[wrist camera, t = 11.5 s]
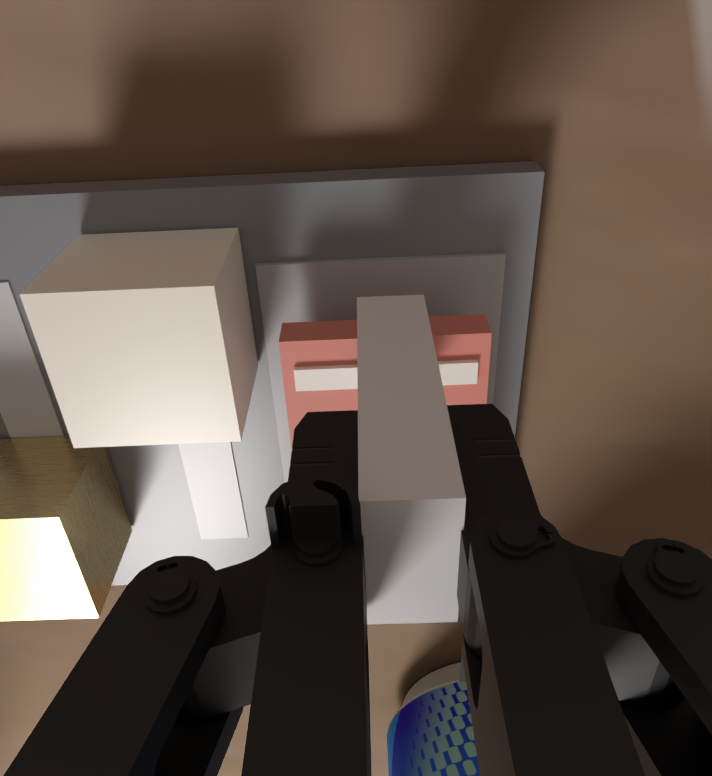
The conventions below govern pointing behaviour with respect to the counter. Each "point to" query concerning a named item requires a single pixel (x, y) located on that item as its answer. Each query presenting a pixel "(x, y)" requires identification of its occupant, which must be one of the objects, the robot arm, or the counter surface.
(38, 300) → the ivory slider
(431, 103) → the counter surface
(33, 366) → the panel
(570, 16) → the counter surface
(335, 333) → the block
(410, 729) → the beer can
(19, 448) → the brass slider
